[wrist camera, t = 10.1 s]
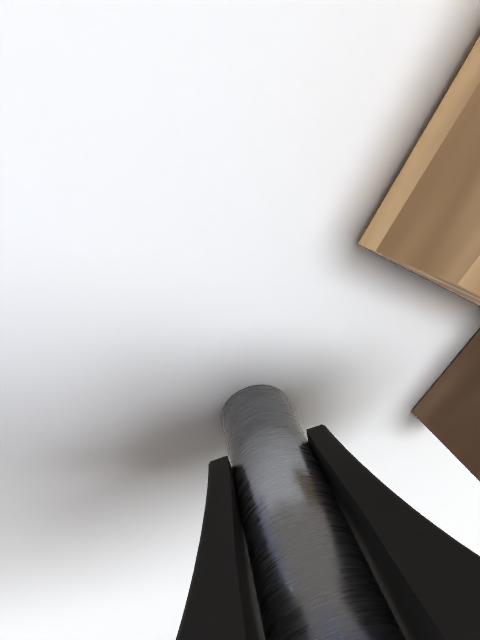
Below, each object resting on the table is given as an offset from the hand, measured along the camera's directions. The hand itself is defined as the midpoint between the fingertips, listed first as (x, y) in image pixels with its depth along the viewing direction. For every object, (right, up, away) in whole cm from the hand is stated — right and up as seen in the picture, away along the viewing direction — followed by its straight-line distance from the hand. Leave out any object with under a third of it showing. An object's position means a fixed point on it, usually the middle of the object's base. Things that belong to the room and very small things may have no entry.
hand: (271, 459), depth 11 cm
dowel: (0, +1, +2) cm, 2 cm away
